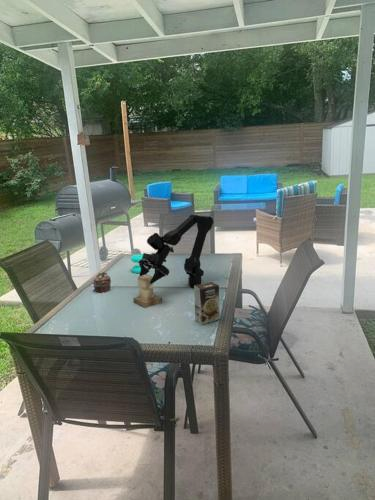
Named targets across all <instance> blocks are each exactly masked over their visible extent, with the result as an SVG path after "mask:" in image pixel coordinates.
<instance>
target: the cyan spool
mask: <svg viewBox="0 0 375 500" xmlns="http://www.w3.org/2000/svg"><path fill="white" fill-rule="evenodd" d="M142 257H143V254H140V253H139V254H134V255H132V256H131V257H130V260H131V262H132V263H134V264H135V263H136V264H135V265H134V266H132V268H131V272H132V273H134V274H140V271H141V267H140V265H139V263H138V262H139V261H140V260H141V259H142ZM144 260H145V259H144Z"/></svg>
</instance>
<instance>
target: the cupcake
mask: <svg viewBox="0 0 375 500" xmlns="http://www.w3.org/2000/svg"><path fill="white" fill-rule="evenodd" d="M111 283H112V280H111V276H110V275H108V273H107V272H105V271H103V272H101V273H100V272H98V274H96V276H95V277H94V279H93V282H92V285H93V288H94V292H95V293H98V294H104V293H107V292H110V290H111ZM103 292H104V293H103Z"/></svg>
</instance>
